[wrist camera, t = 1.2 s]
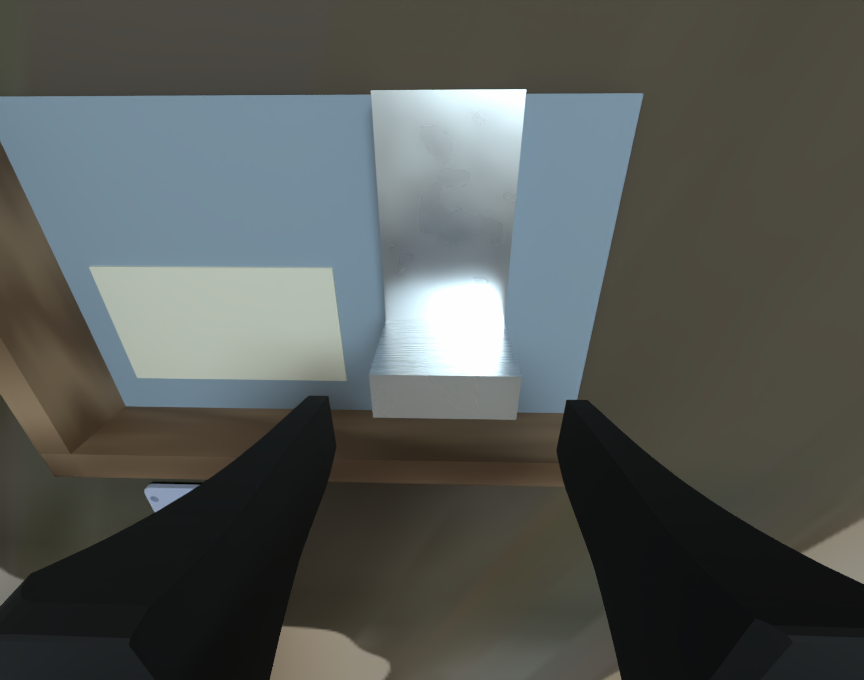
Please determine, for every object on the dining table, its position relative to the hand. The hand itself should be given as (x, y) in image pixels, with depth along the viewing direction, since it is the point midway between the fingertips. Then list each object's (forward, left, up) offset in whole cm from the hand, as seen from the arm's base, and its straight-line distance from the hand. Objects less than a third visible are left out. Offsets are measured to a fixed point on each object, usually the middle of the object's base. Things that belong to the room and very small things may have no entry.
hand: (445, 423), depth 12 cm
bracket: (+4, 0, -7) cm, 8 cm away
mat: (+1, +6, -8) cm, 10 cm away
